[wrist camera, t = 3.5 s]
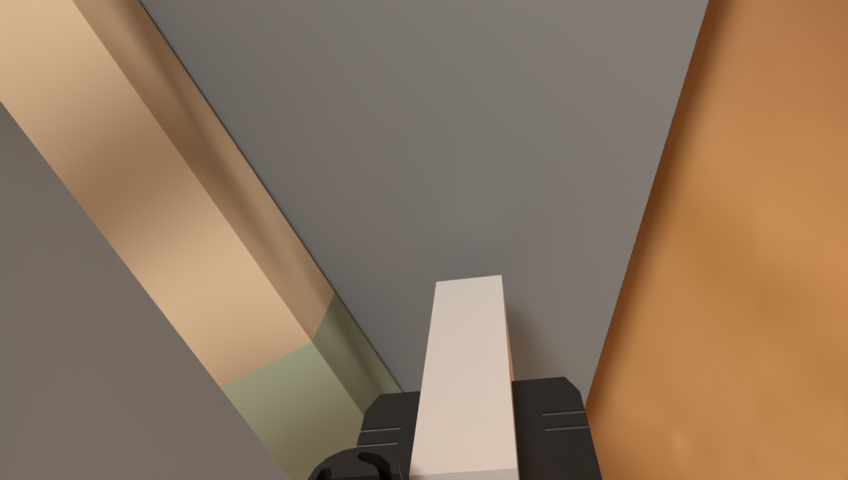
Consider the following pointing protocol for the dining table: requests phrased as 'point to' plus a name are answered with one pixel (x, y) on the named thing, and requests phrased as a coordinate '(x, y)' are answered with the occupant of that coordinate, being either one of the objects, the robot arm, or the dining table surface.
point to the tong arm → (190, 220)
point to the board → (350, 208)
